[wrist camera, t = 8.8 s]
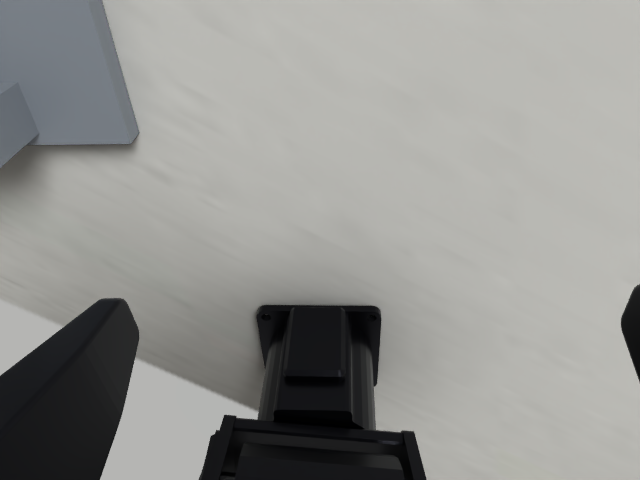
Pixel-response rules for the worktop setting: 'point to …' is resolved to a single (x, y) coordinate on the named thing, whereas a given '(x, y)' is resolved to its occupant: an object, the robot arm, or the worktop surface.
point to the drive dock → (60, 77)
